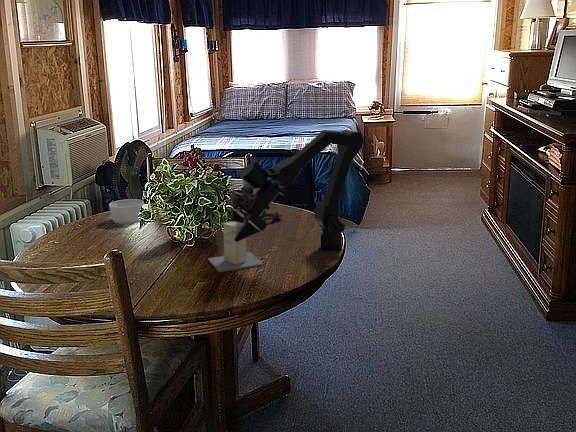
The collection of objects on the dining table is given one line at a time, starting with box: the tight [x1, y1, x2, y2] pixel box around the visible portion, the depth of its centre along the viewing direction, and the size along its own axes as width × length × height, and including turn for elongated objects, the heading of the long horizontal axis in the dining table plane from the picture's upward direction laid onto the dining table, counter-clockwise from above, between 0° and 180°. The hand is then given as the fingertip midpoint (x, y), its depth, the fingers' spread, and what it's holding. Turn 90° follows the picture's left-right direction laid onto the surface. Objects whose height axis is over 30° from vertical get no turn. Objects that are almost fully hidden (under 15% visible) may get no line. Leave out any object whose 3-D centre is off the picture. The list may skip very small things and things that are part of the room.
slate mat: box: [207, 251, 264, 273], centre depth 194 cm, size 14×12×1 cm
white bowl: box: [108, 198, 145, 225], centre depth 242 cm, size 13×13×7 cm
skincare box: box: [223, 220, 247, 265], centre depth 193 cm, size 6×4×12 cm
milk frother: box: [240, 179, 282, 220], centre depth 241 cm, size 14×16×15 cm
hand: (230, 236), depth 192 cm, fingers open, 9 cm apart
